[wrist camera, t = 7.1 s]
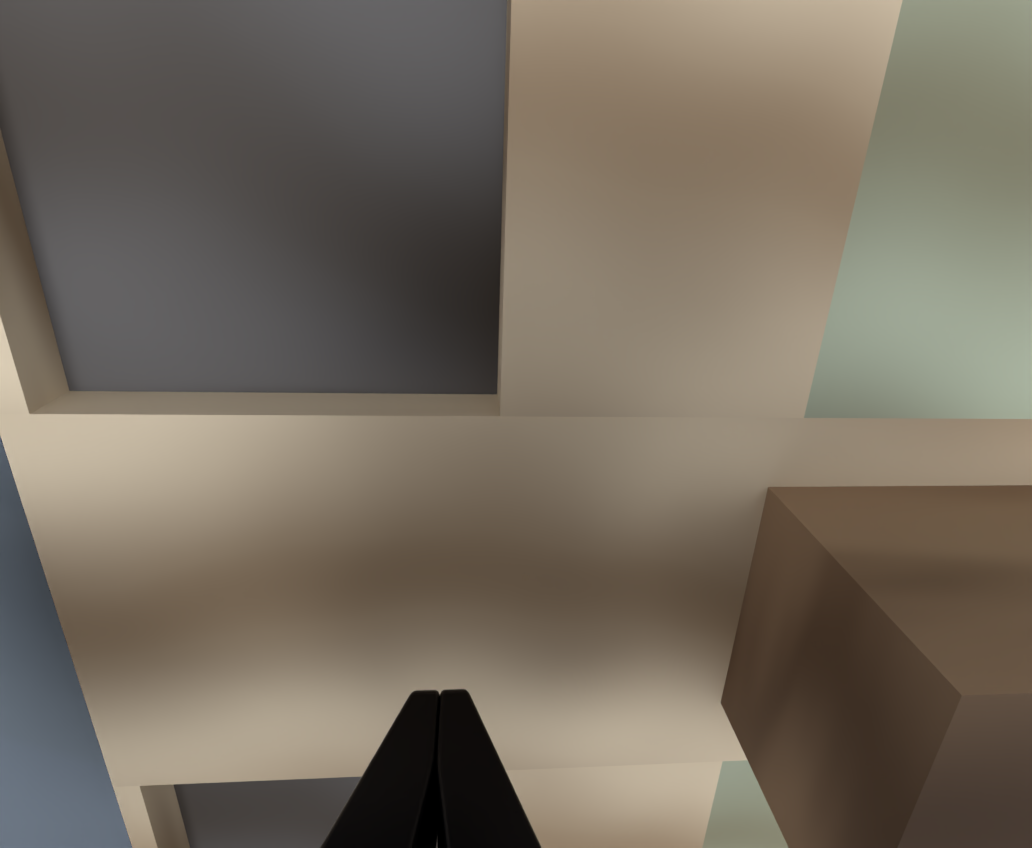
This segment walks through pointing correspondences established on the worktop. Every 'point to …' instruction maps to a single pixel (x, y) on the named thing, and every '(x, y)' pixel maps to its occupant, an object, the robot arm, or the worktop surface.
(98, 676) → the trap board
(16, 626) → the worktop surface
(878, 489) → the walnut block
